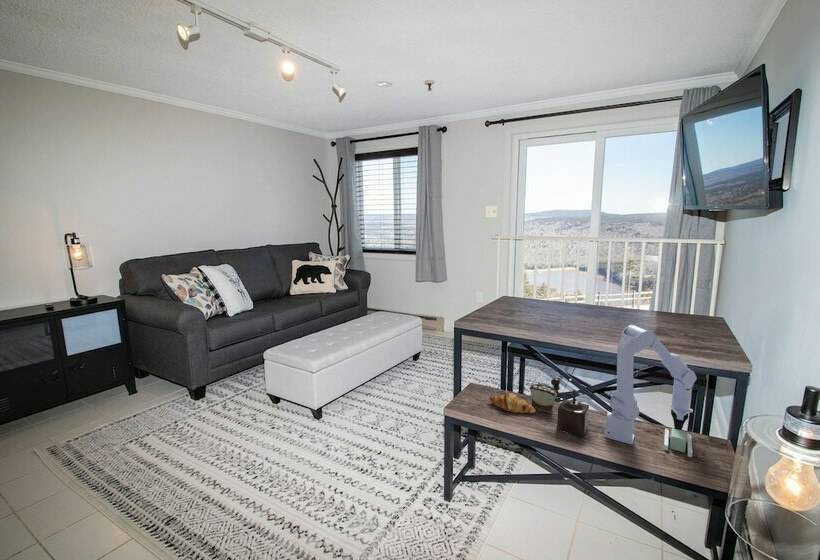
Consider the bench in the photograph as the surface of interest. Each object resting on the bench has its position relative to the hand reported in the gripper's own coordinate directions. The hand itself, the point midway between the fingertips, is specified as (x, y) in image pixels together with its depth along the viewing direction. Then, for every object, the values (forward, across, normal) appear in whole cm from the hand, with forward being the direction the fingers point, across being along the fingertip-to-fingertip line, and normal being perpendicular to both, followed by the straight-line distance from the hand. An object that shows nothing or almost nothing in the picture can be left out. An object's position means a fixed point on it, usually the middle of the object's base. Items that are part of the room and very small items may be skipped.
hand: (677, 429), depth 152 cm
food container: (+2, -6, +50) cm, 50 cm away
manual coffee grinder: (+2, -18, +38) cm, 42 cm away
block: (+2, -10, 0) cm, 10 cm away
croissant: (+3, -15, +62) cm, 64 cm away
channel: (+2, -8, 0) cm, 9 cm away
